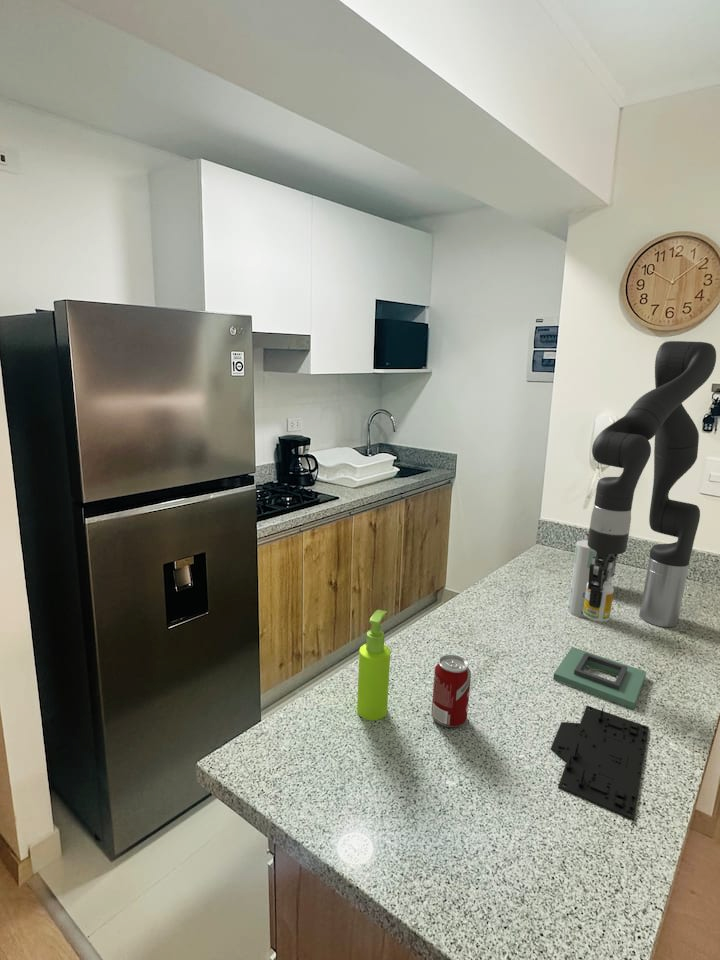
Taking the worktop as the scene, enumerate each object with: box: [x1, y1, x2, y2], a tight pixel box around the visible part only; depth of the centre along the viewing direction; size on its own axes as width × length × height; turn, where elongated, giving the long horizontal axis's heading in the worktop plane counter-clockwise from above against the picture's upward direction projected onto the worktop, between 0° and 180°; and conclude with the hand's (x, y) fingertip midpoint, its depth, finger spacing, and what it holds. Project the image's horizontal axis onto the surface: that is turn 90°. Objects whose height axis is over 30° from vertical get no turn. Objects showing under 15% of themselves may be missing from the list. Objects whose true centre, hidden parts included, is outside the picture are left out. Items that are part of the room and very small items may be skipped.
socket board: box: [552, 646, 647, 710], centre depth 117 cm, size 14×16×2 cm
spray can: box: [567, 539, 597, 619], centre depth 146 cm, size 6×6×20 cm
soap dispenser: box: [356, 609, 391, 721], centre depth 103 cm, size 6×7×20 cm
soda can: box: [431, 654, 472, 728], centre depth 102 cm, size 7×7×12 cm
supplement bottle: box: [583, 575, 615, 622], centre depth 116 cm, size 5×5×10 cm
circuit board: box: [550, 705, 650, 822], centre depth 95 cm, size 25×14×3 cm, turn 148°
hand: (598, 601), depth 116 cm, fingers closed on supplement bottle, 5 cm apart
